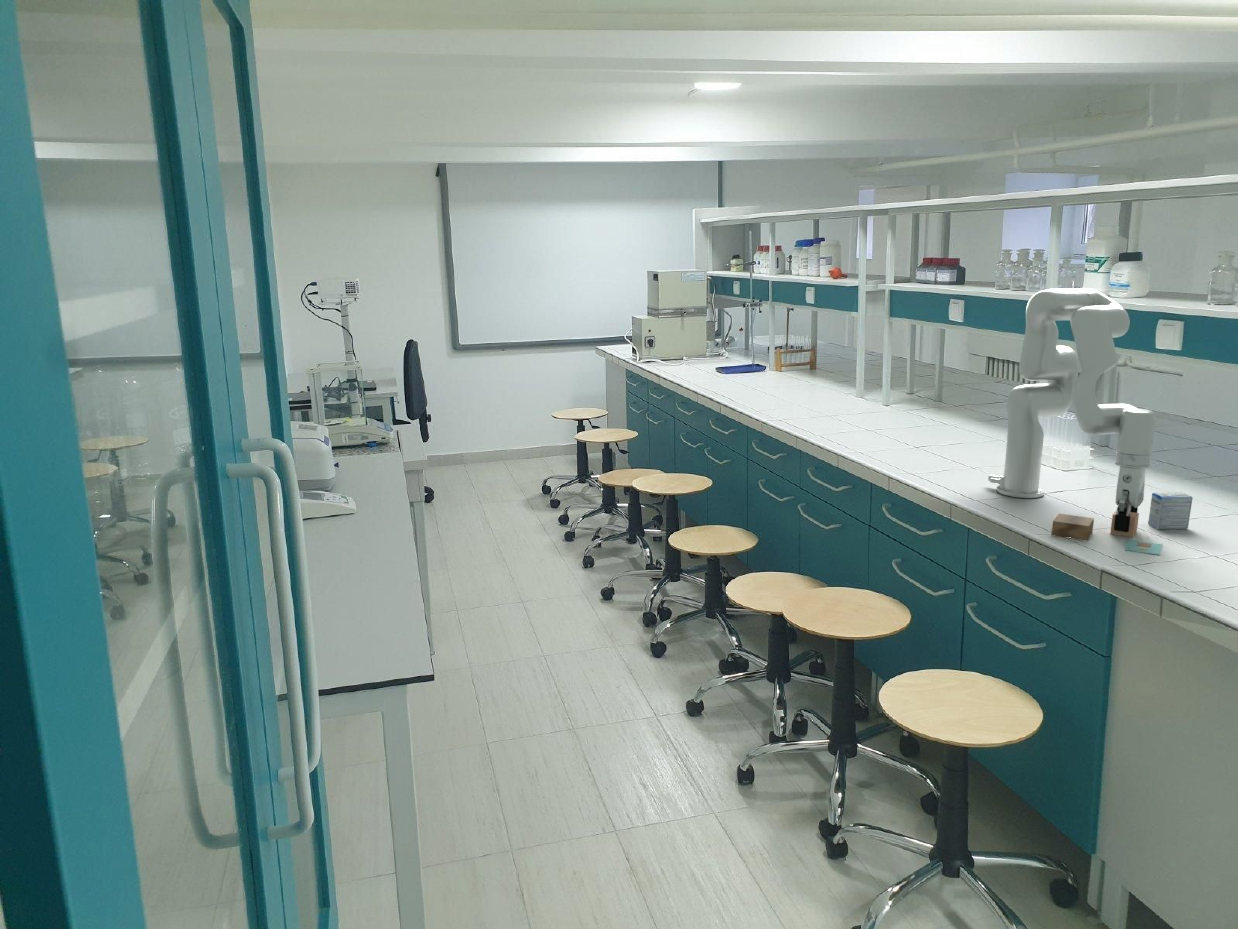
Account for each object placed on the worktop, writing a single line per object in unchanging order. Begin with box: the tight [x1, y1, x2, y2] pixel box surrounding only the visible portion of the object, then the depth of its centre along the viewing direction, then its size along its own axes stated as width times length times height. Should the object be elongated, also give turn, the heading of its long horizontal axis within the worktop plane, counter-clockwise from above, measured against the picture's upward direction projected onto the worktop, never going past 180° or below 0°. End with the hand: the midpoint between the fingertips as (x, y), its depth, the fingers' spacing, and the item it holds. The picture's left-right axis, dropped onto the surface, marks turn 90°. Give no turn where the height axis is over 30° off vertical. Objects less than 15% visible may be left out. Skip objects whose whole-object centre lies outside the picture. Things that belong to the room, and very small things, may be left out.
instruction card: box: [1124, 539, 1163, 556], centre depth 217 cm, size 7×9×1 cm
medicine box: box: [1147, 491, 1193, 530], centre depth 231 cm, size 8×4×9 cm, turn 92°
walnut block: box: [1051, 512, 1095, 542], centre depth 227 cm, size 8×8×4 cm
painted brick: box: [1109, 509, 1140, 538], centre depth 227 cm, size 5×5×6 cm
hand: (1124, 526), depth 227 cm, fingers open, 9 cm apart
